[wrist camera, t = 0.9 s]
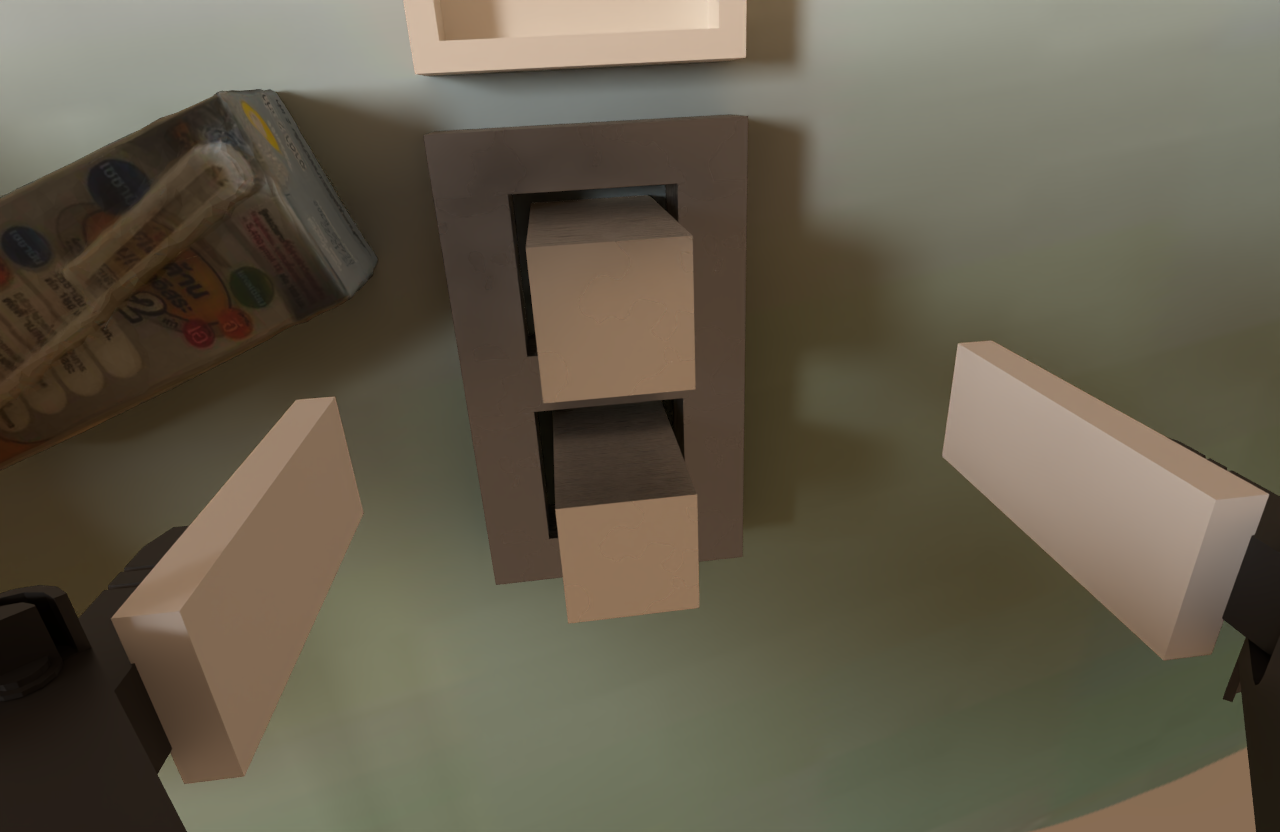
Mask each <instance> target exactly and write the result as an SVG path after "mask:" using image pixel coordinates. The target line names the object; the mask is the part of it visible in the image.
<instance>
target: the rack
mask: <svg viewBox="0 0 1280 832" xmlns="http://www.w3.org/2000/svg"><path fill="white" fill-rule="evenodd" d="M423 137H424V143H425V149H426V155H427V161H428V168H429V174H430V180H431V186H432V192H433V199H434V205H435V211H436V217H437V223H438V229H439V236H440V242H441V248H442V254H443V260H444V267H445V273H446V279H447V285H448V291H449V297H450V304H451V310H452V316H453V322H454V328H455V335H456V341H457V347H458V353H459V359H460V365H461V372H462V378H463V384H464V390H465V396H466V403H467V409H468V415H469V421H470V427H471V434H472V440H473V446H474V452H475V458H476V464H477V471H478V477H479V483H480V489H481V495H482V502H483V508H484V514H485V520H486V526H487V532H488V539H489V545H490V551H491V557H492V563H493V570H494V576H495V582H496V585H499V584H508V583H517V582H525V581H534V580H543V579H552V578H560V577H563V573H562V564H561V555H560V547H559V538H558V529H557V520H556V511H555V505H550V506H549V504H548V495H547V487H546V478H545V470H544V461H543V453H542V444H541V436H540V427H539V419H538V411H549V410H559V409H570V408H581V407H592V406H602V405H613V404H624V403H635V402H645V401H656V400H667V399H673V421H674V435H675V438H676V441H677V443H678V446H679V448H680V451H681V454H682V456H683V459H684V461H685V464H686V466H687V469H688V472H689V474H690V477H691V479H692V482H693V485H694V487H695V490H696V492H697V508H698V562H700V561H709V560H718V559H727V558H735V557H742V553H743V473H744V393H745V313H746V234H747V154H748V116H739V115H713V116H695V117H677V118H660V119H642V120H625V121H607V122H590V123H572V124H554V125H537V126H519V127H502V128H484V129H466V130H449V131H434V132H431V133H428V134H424V135H423ZM660 184H666V204H667V212H668V213H669V214H670V215H671V216H672V217H673V218H674V219H675V220H676V221H677V222H678V223H679V224H681V225H682V226H683V227H684V228H685V229H686V230H687V231H688V232H689V233H690V234H691V235H692V236H693V281H694V335H695V390H684V391H673V392H662V393H651V394H640V395H630V396H619V397H608V398H597V399H586V400H575V401H564V402H554V403H543V396H542V387H541V379H540V370H539V361H538V352H537V343H536V335H529V334H528V325H527V317H526V308H525V300H524V291H523V283H522V274H521V266H520V257H519V249H518V240H517V232H516V223H515V215H514V206H513V198H512V194H523V193H538V192H553V191H569V190H584V189H599V188H614V187H630V186H645V185H660Z"/></svg>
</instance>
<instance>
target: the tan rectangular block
mask: <svg viewBox="0 0 1280 832" xmlns="http://www.w3.org/2000/svg"><path fill="white" fill-rule="evenodd" d="M526 255H527V264H528V273H529V282H530V290H531V299H532V308H533V317H534V326H535V334H536V343H537V352H538V361H539V370H540V379H541V387H542V396H543V403H554V402H564V401H575V400H586V399H597V398H608V397H619V396H630V395H640V394H651V393H662V392H673V391H684V390H695V335H694V281H693V236H692V235H691V234H690V233H689V232H688V231H687V230H686V229H685V228H684V227H683V226H682V225H681V224H679V223H678V222H677V221H676V220H675V219H674V218H673V217H672V216H671V215H670V214H669V213H668V212H666V211H665V210H664V209H663V208H662V207H661V206H660V205H659V204H658V203H657V202H656V201H655V200H653V199H652V198H651V197H650V196H649V195H642V196H627V197H612V198H597V199H582V200H567V201H552V202H537V203H531V209H530V217H529V225H528V233H527V241H526Z"/></svg>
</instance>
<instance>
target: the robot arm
mask: <svg viewBox="0 0 1280 832" xmlns="http://www.w3.org/2000/svg"><path fill="white" fill-rule="evenodd" d="M942 457H943V458H944V459H946V460H947V461H948V462H949V463H950V464H951V465H952V466H953V467H954V468H955V469H956V470H958V471H959V472H960V473H961V474H962V475H963V476H964V477H965V478H966V479H967V480H968V481H969V482H971V483H972V484H973V485H974V486H975V487H976V488H977V489H978V490H979V491H980V492H981V493H982V494H984V495H985V496H986V497H987V498H988V499H989V500H990V501H991V502H992V503H993V504H994V505H995V506H997V507H998V508H999V509H1000V510H1001V511H1002V512H1003V513H1004V514H1005V515H1006V516H1007V517H1008V518H1010V519H1011V520H1012V521H1013V522H1014V523H1015V524H1016V525H1017V526H1018V527H1019V528H1020V529H1022V530H1023V531H1024V532H1025V533H1026V534H1027V535H1028V536H1029V537H1030V538H1031V539H1032V540H1033V541H1035V542H1036V543H1037V544H1038V545H1039V546H1040V547H1041V548H1042V549H1043V550H1044V551H1045V552H1046V553H1048V554H1049V555H1050V556H1051V557H1052V558H1053V559H1054V560H1055V561H1056V562H1057V563H1058V564H1059V565H1061V566H1062V567H1063V568H1064V569H1065V570H1066V571H1067V572H1068V573H1069V574H1070V575H1071V576H1073V577H1074V578H1075V579H1076V580H1077V581H1078V582H1079V583H1080V584H1081V585H1082V586H1083V587H1084V588H1086V589H1087V590H1088V591H1089V592H1090V593H1091V594H1092V595H1093V596H1094V597H1095V598H1096V599H1097V600H1099V601H1100V602H1101V603H1102V604H1103V605H1104V606H1105V607H1106V608H1107V609H1108V610H1109V611H1110V612H1112V613H1113V614H1114V615H1115V616H1116V617H1117V618H1118V619H1119V620H1120V621H1121V622H1122V623H1123V624H1125V625H1126V626H1127V627H1128V628H1129V629H1130V630H1131V631H1132V632H1133V633H1134V634H1135V635H1137V636H1138V637H1139V638H1140V639H1141V640H1142V641H1143V642H1144V643H1145V644H1146V645H1147V646H1148V647H1150V648H1151V649H1152V650H1153V651H1154V652H1155V653H1156V654H1157V655H1158V656H1159V657H1160V658H1161V659H1163V660H1170V659H1178V658H1186V657H1194V656H1202V655H1210V654H1212V651H1213V649H1214V646H1215V643H1216V640H1217V638H1218V635H1219V632H1220V629H1221V627H1222V624H1223V621H1224V620H1225V621H1226V622H1227V623H1229V624H1230V625H1231V626H1232V627H1234V628H1235V629H1236V630H1238V631H1239V632H1240V633H1241V634H1243V635H1244V636H1245V637H1246V639H1245V641H1244V644H1243V646H1242V649H1241V652H1240V654H1239V657H1238V659H1237V662H1236V665H1235V667H1234V670H1233V673H1232V675H1231V678H1230V680H1229V683H1228V686H1227V688H1226V691H1225V694H1224V697H1223V699H1224V700H1228V701H1231V702H1232V701H1233V699H1234V697H1235V694H1236V693H1239V692H1241V693H1242V703H1243V712H1244V721H1245V731H1246V740H1247V750H1248V759H1249V768H1250V777H1251V787H1252V796H1253V806H1254V815H1255V825H1256V832H1280V496H1278V495H1276V494H1274V493H1272V492H1271V491H1269V490H1267V489H1265V488H1263V487H1261V486H1260V485H1258V484H1256V483H1254V482H1252V481H1250V480H1249V479H1247V478H1245V477H1243V476H1241V475H1240V474H1238V473H1236V472H1234V471H1227V467H1225V466H1223V465H1221V464H1220V463H1218V462H1216V461H1214V460H1212V459H1206V458H1205V455H1203V454H1201V453H1199V452H1198V451H1196V450H1194V449H1192V448H1190V447H1189V446H1187V445H1185V444H1183V443H1181V442H1179V441H1177V440H1174V439H1171V438H1168V437H1165V436H1163V435H1161V434H1160V433H1158V432H1156V431H1154V430H1152V429H1151V428H1149V427H1147V426H1145V425H1143V424H1142V423H1140V422H1138V421H1136V420H1134V419H1133V418H1131V417H1129V416H1127V415H1125V414H1124V413H1122V412H1120V411H1118V410H1116V409H1115V408H1113V407H1111V406H1109V405H1107V404H1106V403H1104V402H1102V401H1100V400H1098V399H1096V398H1095V397H1093V396H1091V395H1089V394H1087V393H1086V392H1084V391H1082V390H1080V389H1078V388H1077V387H1075V386H1073V385H1071V384H1069V383H1068V382H1066V381H1064V380H1062V379H1060V378H1059V377H1057V376H1055V375H1053V374H1051V373H1050V372H1048V371H1046V370H1044V369H1042V368H1041V367H1039V366H1037V365H1035V364H1033V363H1031V362H1030V361H1028V360H1026V359H1024V358H1022V357H1021V356H1019V355H1017V354H1015V353H1013V352H1012V351H1010V350H1008V349H1006V348H1004V347H1003V346H1001V345H999V344H997V343H995V342H994V341H992V340H991V341H979V342H968V343H958V347H957V354H956V361H955V368H954V375H953V382H952V389H951V397H950V404H949V411H948V418H947V425H946V432H945V439H944V446H943V453H942ZM363 514H364V513H363V509H362V505H361V500H360V496H359V492H358V488H357V484H356V480H355V476H354V472H353V467H352V463H351V459H350V455H349V451H348V447H347V443H346V439H345V435H344V430H343V426H342V422H341V418H340V414H339V410H338V406H337V402H336V398H335V397H323V398H311V399H300V400H295V402H294V403H293V404H292V405H291V406H290V408H289V409H288V410H287V411H286V412H285V413H284V415H283V416H282V417H281V418H280V419H279V421H278V422H277V423H276V424H275V425H274V426H273V428H272V429H271V430H270V431H269V432H268V434H267V435H266V436H265V437H264V438H263V439H262V441H261V442H260V443H259V444H258V445H257V447H256V448H255V449H254V450H253V451H252V452H251V454H250V455H249V456H248V457H247V458H246V459H245V461H244V462H243V463H242V464H241V465H240V467H239V468H238V469H237V470H236V471H235V472H234V474H233V475H232V476H231V477H230V478H229V480H228V481H227V482H226V483H225V484H224V485H223V487H222V488H221V489H220V490H219V491H218V493H217V494H216V495H215V496H214V497H213V498H212V500H211V501H210V502H209V503H208V504H207V506H206V507H205V508H204V509H203V510H202V511H201V513H200V514H199V515H198V516H197V517H196V519H195V520H194V521H193V522H192V523H191V524H190V526H182V527H173V528H172V529H170V530H169V531H167V532H165V533H164V534H162V535H161V536H159V537H158V538H156V539H155V540H153V541H152V542H150V543H149V544H147V545H146V546H144V547H143V548H142V549H141V550H140V551H139V552H138V553H137V555H136V556H135V557H134V558H133V559H132V560H131V561H130V562H129V563H128V564H127V566H126V567H125V568H124V572H120V573H119V574H118V575H117V577H116V578H115V579H114V580H113V581H112V582H111V583H110V584H109V585H108V587H109V588H108V590H104V591H103V592H102V593H101V594H100V595H99V596H98V597H97V599H96V600H95V601H94V602H93V603H92V604H91V605H90V606H89V607H88V608H87V610H86V611H85V612H84V613H83V614H82V615H81V616H80V617H79V618H78V617H77V615H76V613H75V611H74V608H73V606H72V604H71V602H70V600H69V598H68V596H67V594H66V593H65V592H64V591H62V590H61V589H59V588H58V587H55V586H42V585H37V586H30V587H24V588H18V589H13V590H10V591H7V592H3V593H0V832H187V831H186V829H185V827H184V825H183V823H182V821H181V820H180V818H179V816H178V814H177V812H176V810H175V808H174V806H173V804H172V802H171V800H170V798H169V796H168V794H167V792H166V790H165V789H164V787H163V785H162V783H161V781H160V779H159V777H158V775H157V774H158V772H159V771H160V769H161V767H162V765H163V764H164V762H165V760H166V759H167V757H168V755H169V753H171V755H172V757H173V760H174V762H175V764H176V766H177V769H178V771H179V773H180V775H181V778H182V780H183V782H184V784H187V783H195V782H203V781H211V780H219V779H227V778H235V777H243V776H245V774H246V772H247V769H248V767H249V765H250V763H251V761H252V758H253V756H254V754H255V752H256V749H257V747H258V745H259V743H260V741H261V738H262V736H263V734H264V732H265V730H266V727H267V725H268V723H269V721H270V719H271V716H272V714H273V712H274V710H275V708H276V705H277V703H278V701H279V699H280V697H281V694H282V692H283V690H284V688H285V686H286V683H287V681H288V679H289V677H290V675H291V672H292V670H293V668H294V666H295V664H296V661H297V659H298V657H299V655H300V652H301V650H302V648H303V646H304V644H305V641H306V639H307V637H308V635H309V633H310V630H311V628H312V626H313V624H314V622H315V619H316V617H317V615H318V613H319V611H320V608H321V606H322V604H323V602H324V600H325V597H326V595H327V593H328V591H329V589H330V586H331V584H332V582H333V580H334V578H335V575H336V573H337V571H338V569H339V567H340V564H341V562H342V560H343V558H344V555H345V553H346V551H347V549H348V547H349V544H350V542H351V540H352V538H353V536H354V533H355V531H356V529H357V527H358V525H359V522H360V520H361V518H362V516H363Z"/></svg>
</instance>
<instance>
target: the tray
mask: <svg viewBox="0 0 1280 832" xmlns="http://www.w3.org/2000/svg"><path fill="white" fill-rule="evenodd" d="M403 1H404V8H405V14H406V20H407V26H408V32H409V39H410V45H411V51H412V57H413V64H414V70H415V74H418V75H424V76H435V75H455V74H475V73H495V72H515V71H535V70H555V69H575V68H595V67H615V66H635V65H655V64H675V63H695V62H715V61H731V60H736V59H741V58H746V5H747V0H403Z"/></svg>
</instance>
